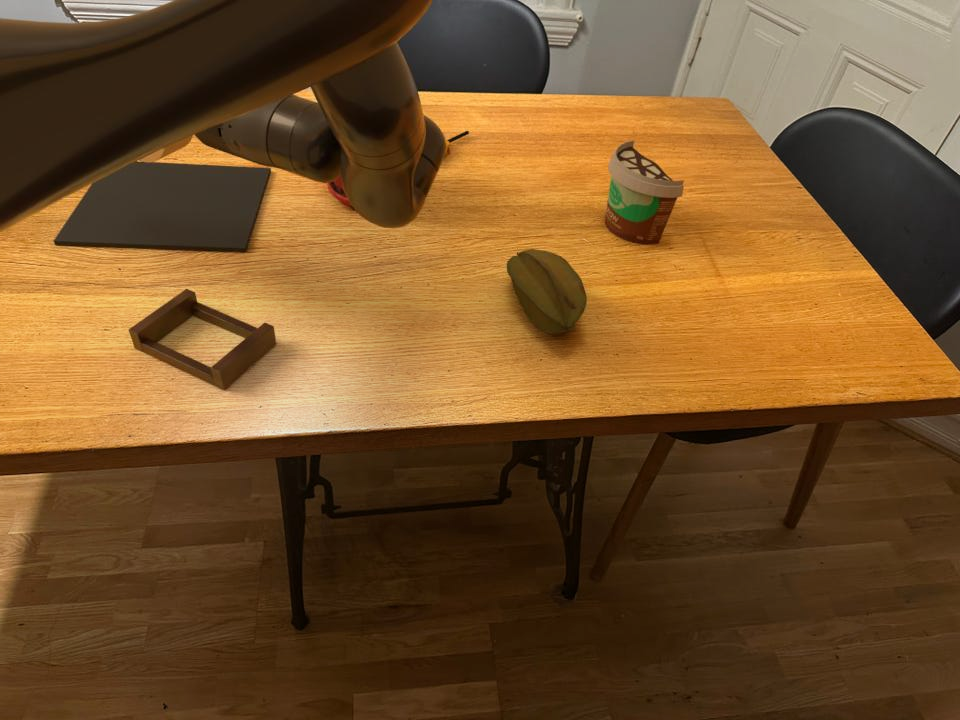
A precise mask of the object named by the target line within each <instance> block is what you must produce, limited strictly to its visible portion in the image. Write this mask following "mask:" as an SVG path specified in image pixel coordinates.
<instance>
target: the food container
mask: <svg viewBox="0 0 960 720" xmlns="http://www.w3.org/2000/svg"><path fill="white" fill-rule="evenodd" d="M634 145H635V139H632V140H627V141H625V142H623V143H621V144H620V145H618V146H617V148H616V149H615V150H614V151H613V153H612V154H611V155H612V156H611V158H610V160H609V161H608V165H607V169H608V173H609V175H610V176H611V177H610V184H609V188H608V189H609V190H608V196H607V203H606V209H605V217H604V225H605V226H606V228H607V230H608V231H609V232H610V233H612V234H613V235H614V236H616V237H618V238H620V239H622V240H624V241H627V242H630V243H634V244H641V245H655V244H659V243H660V241H661V238H662V236H663V234H664V231H665V229H666V226H667V225H668V222H669V220H670V217H671V214H672V211H673V210H674V207H675V205H676V202H677V200H678V198H682V197H683V193H684V189H685V188H684V187H685V185H684V182H685V180H684V179H681V180H674V179H672V178H671V177H670V176H669V175H668V174H667V173H666V172H665V171H664V170H663V169H662V167H660V165H659V164H658V163H656V162H655V161H653V160H652V159H650V158H648V157H646V156H644V155H643V154H641V153H640V152H639V151H638V150H637V149H636V148H634Z"/></svg>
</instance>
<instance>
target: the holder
mask: <svg viewBox="0 0 960 720" xmlns="http://www.w3.org/2000/svg"><path fill="white" fill-rule="evenodd" d="M197 298H198V297H197V294H196V292H195V291H193V290H190V289H189V288H185V289H184V290H183V291H181V292H180V293H178V294H176V295H175V296H174V297H173V298H171V299H169V300H168V301H166V302H165V303H164V304H162V305H161V306H160V307H158V308H157V309H155V310H154V311H152V312H151V313H150V314H148V315H147V316H145V317H144V318H143V319H141V320H140V321H139V322H136V324H134V325H133V326H131V327H130V328H129V329H128V333H129V335H130V338H131V342H132V344H133V348H134V349H136V350H138V351H139V352H142V353H145V354H146V355H148V356H151V357H153V358H156V359H158V360H160V361H161V362H164V363H166V364H168V365H171V366H172V367H175V368H176V369H179V370H181V371H183V372H185V373H187V374H189V375H192V376H193V377H196V378H197V379H200V380H202V381H204V382H206V383H208V384H210V385H213V386H215V387H217V388H219V389H221V390H223V391H225V390H226V389H227V388H228V387H230V386H231V385H232V384H233V383H234V382H235V381H236V380H238V378H240V377H241V376H242V375H243V374H244V373H245V372H246V371H248V370H249V369H250V368H251V367H252V366H253V365H254V364H255V363H256V362H258V361H259V360H260V359H261V358H263V356H265V354H267V353H268V352H269V351H270V350H272V348H273V347H274V346H276V345H277V339H276V332H275V326H274V325H272V324H271V323H268V322H263V323H262V324H261V325H260V326H259V327H257V326H254V325H252V324H250V323H247V322H245V321H243V320H240V319H237V318H236V317H233V316H231V315H228V314H226V313H224V312H222V311H219V310H217V309H215V308H212V307H211V306H208V305H205V304H203V303H200V302H198V299H197ZM192 316H195V317H197V318H199V319H202V320H204V321H206V322H208V323H210V324H213V325H215V326H218V327H220V328H222V329H224V330H227V331H229V332H231V333H234V334H236V335H238V336H239V337H242V338H244V339H243V340H242V341H240V342H239V343H238V344H237V345H236V346H235V347H233V348H232V349H231V350H230V351H228V353H226V354H225V355H224V356H223V357H221V358H220V359H219V360H218V361H217V362H216V363H214V364H213V365H212V366H209V365H207V364H205V363H202V362H201V361H198V360H196V359H193V358H191V357H190V356H187V355H185V354H183V353H181V352H178V351H177V350H174V349H172V348H170V347H168V346H166V345H164V344H162V343H160V342H159V341H160V340H162V339H163V338H164V337H166V336H167V335H168V334H170V333H171V332H172V331H173V330H175V329H176V328H177V327H179V326H180V325H182V324H183V323H185V322H186V321H187V320H188V319H189V318H191V317H192Z"/></svg>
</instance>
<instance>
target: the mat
mask: <svg viewBox="0 0 960 720" xmlns="http://www.w3.org/2000/svg"><path fill="white" fill-rule="evenodd" d="M271 173H272V167H259V166H258V167H257V166H255V167H254V166H238V165H216V164H200V163H199V164H197V163H178V162H158V161H155V162H142V161H139V160H138V161H136V162H134V163H132V164H130V165H128V166H126V167H124V168H122V169H120V170H118V171H116V172H114V173H112V174H110V175H108V176H106V177H104V178H102V179H100V180H98V181H96V182H94V183H92V184H90V185H89V187H88V188H87V190H86V192H85V193H84V195H83V196H82V198H81V199H80V200H79V202H78V203H77V205H76V207H75V208H74V209H73V211H72V213H71V214H70V215H69V217H68V218H67V220H66V222H65V223H64V224H63V226H62V227H61V228H60V230H59V232H58V233H57V235H56V236H55V238H54V239H53V245H55V246H74V247H101V248H102V247H103V248H123V249H124V248H127V249H128V248H129V249H132V248H133V249H154V250H180V251H204V252H205V251H208V252H231V253H232V252H236V253H246V252H247V249H248V247H249V243H250V240H251V237H252V233H253V230H254V227H255V225H256V221H257V217H258V214H259V211H260V208H261V205H262V201H263V198H264V195H265V192H266V189H267V186H268V183H269V179H270V177H271Z"/></svg>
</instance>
